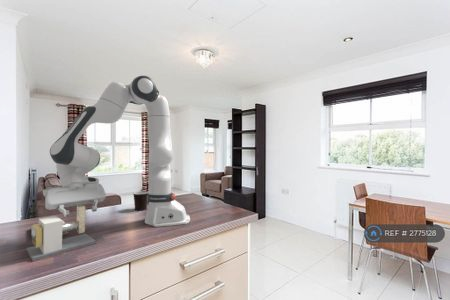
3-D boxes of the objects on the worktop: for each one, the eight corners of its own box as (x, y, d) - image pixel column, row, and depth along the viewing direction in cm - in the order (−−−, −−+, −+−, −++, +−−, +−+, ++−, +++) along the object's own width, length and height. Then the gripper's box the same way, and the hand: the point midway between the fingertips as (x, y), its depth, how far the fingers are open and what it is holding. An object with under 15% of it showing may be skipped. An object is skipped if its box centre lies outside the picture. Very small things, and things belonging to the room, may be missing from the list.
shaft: (82, 230, 87) (82, 204, 87) (84, 232, 85) (85, 206, 85) (31, 242, 75) (31, 213, 75) (33, 244, 73) (33, 214, 73)
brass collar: (37, 241, 78) (38, 223, 78) (41, 246, 74) (42, 227, 74) (32, 242, 77) (32, 224, 77) (35, 247, 73) (36, 229, 73)
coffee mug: (135, 207, 137) (135, 191, 137) (149, 207, 137) (150, 191, 137) (129, 212, 125) (129, 195, 125) (144, 212, 126) (144, 195, 126)
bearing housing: (85, 235, 92) (86, 209, 92) (95, 243, 84) (96, 214, 84) (26, 250, 78) (26, 219, 78) (32, 261, 70) (32, 227, 70)
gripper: (43, 182, 82) (49, 214, 76) (102, 178, 97) (111, 203, 91) (40, 193, 85) (46, 224, 78) (98, 186, 100) (106, 212, 94)
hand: (81, 213), depth 85 cm, fingers open, 8 cm apart
